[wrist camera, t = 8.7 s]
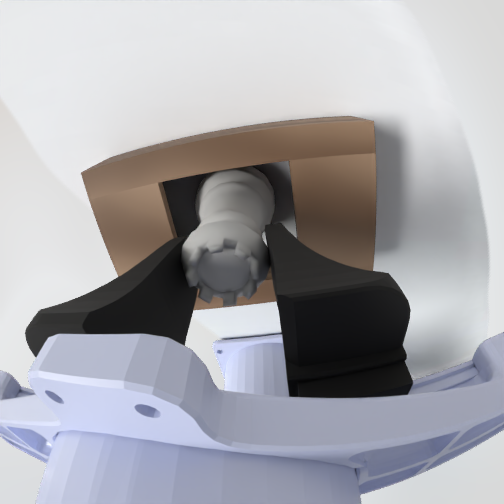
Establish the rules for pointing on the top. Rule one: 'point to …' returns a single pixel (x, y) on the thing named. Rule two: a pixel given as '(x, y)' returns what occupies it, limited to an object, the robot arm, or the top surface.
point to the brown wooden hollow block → (240, 155)
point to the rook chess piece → (229, 235)
